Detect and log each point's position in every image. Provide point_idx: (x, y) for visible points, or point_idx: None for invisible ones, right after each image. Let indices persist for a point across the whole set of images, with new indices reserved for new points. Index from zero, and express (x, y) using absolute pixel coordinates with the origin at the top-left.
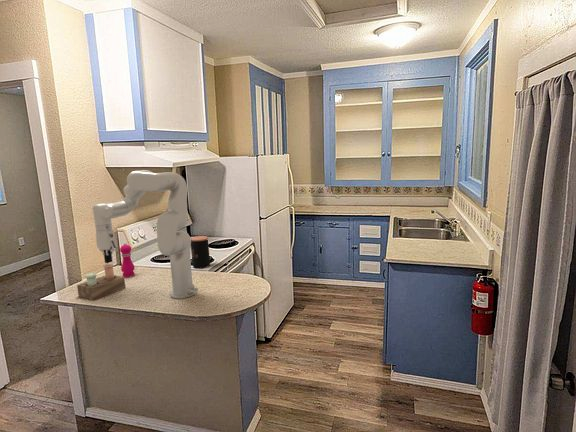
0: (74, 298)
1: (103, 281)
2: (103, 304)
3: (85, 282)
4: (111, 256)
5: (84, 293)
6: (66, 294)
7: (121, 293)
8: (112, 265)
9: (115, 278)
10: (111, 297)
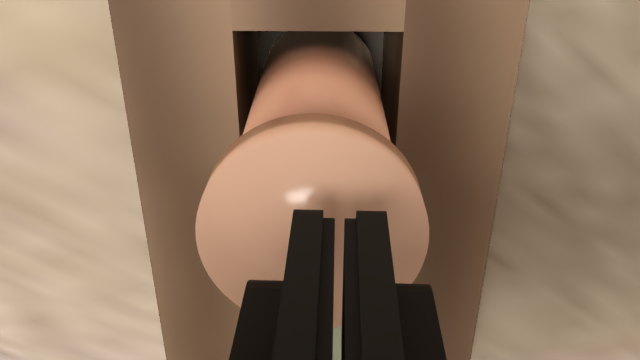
0: None
1: None
2: (614, 350)
3: (171, 344)
4: (399, 324)
5: None
6: (27, 327)
7: (585, 114)
8: (423, 201)
9: (439, 97)
10: (558, 228)
